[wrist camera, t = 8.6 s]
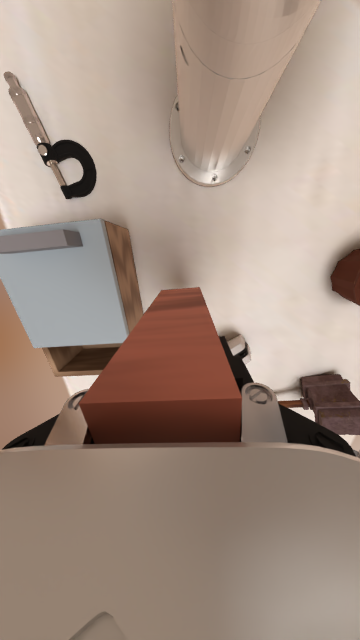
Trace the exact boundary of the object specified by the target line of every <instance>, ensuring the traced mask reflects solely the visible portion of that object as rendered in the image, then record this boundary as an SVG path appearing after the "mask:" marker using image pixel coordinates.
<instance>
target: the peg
mask: <svg viewBox="0 0 360 640" xmlns="http://www.w3.org/2000/svg"><path fill="white" fill-rule="evenodd" d="M79 406H80V408H81V411H82V413H83V416H84V418H85V421H86V423H87V426H88V428H89V431H90V433H91V436H92V438H93V441H94V443H95V444H128V443H202V442H240V425H241V409H242V396H241V394H240V391H239V389H238V386H237V383H236V381H235V378H234V376H233V373H232V370H231V368H230V365H229V363H228V360H227V357H226V355H225V352H224V350H223V347H222V344H221V342H220V339H219V336H218V334H217V331H216V329H215V326H214V323H213V321H212V318H211V316H210V313H209V310H208V308H207V305H206V303H205V300H204V297H203V295H202V292H201V290H200V287H197V288H184V289H171V290H161V292H160V293H159V294H158V296H157V297H156V298H155V300H154V301H153V303H152V304H151V305H150V307H149V308H148V309H147V311H146V312H145V313H144V315H143V316H142V318H141V319H140V320H139V322H138V323H137V324H136V326H135V327H134V329H133V330H132V331H131V333H130V334H129V335H128V337H127V338H126V339H125V341H124V342H123V344H122V345H121V346H120V348H119V349H118V350H117V352H116V353H115V354H114V356H113V357H112V359H111V360H110V361H109V363H108V364H107V365H106V367H105V368H104V369H103V371H102V372H101V374H100V375H99V376H98V378H97V379H96V380H95V382H94V383H93V385H92V386H91V387H90V389H89V390H88V391H87V393H86V394H85V395H84V397H83V398H82V400H81V401H80V402H79Z"/></svg>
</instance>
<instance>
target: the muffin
mask: <svg viewBox="0 0 360 640" xmlns="http://www.w3.org/2000/svg"><path fill="white" fill-rule="evenodd" d="M330 278H331V281H332V290H333V291H335V292H337V293H339V294H340V295H341V296H342V297H344V298H346V299H348V300H350V301H352V302H354V303H355V304H357V305H359V306H360V249H358V250H354V251H352V252H351V253H350V254H349V255H348V256H346V257H345V258H343V259H342V260H340V261H338V263H337V266H336V268H335V270H334V272H333V273H332V275H331V277H330Z"/></svg>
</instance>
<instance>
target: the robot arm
mask: <svg viewBox="0 0 360 640" xmlns="http://www.w3.org/2000/svg"><path fill="white" fill-rule="evenodd" d="M172 2H173V19H174V36H175V53H176V70H177V87H178V94H177V96H176V98H175V100H174V103H173V107H172V111H171V116H170V124H169V133H170V143H171V148H172V153H173V156H174V158H175V161H176V163H177V165H178V167H179V168H180V170H181V172H182V173H183V174H184V175H185V176H186V177H187V178H188V179H190V180H191V181H192V182H194V183H196V184H199V185H202V186H207V187H210V186H218V185H221V184H224V183H226V182H228V181H230V180H231V179H232V178H234V177H235V176H236V175H237V174H238V173H239V172H240V171H241V170H242V169H243V167H244V166H245V164H246V163H247V162H248V160H249V158H250V156H251V155H252V153H253V151H254V148H255V145H256V142H257V139H258V134H259V129H260V115H261V113H262V111H263V109H264V108H265V106H266V104H267V102H268V100H269V98H270V96H271V94H272V93H273V91H274V89H275V87H276V85H277V83H278V81H279V79H280V78H281V76H282V74H283V72H284V70H285V68H286V66H287V64H288V63H289V61H290V59H291V57H292V55H293V53H294V51H295V50H296V48H297V46H298V44H299V42H300V40H301V38H302V36H303V34H304V32H305V30H306V28H307V26H308V24H309V23H310V21H311V19H312V17H313V15H314V13H315V12H316V10H317V8H318V6H319V4H320V2H321V0H172ZM178 110H179V111H178ZM245 151H246V152H247V154H246V153H245ZM181 160H183V161H184V162H182V163H181V162H180V161H181ZM213 178H214V179H215V181H212V179H213ZM219 339H220V342H221V344H222V347H223V350H224V352H225V355H226V357H227V360H228V363H229V365H230V368H231V370H232V373H233V376H234V378H235V381H236V383H237V386H238V389H239V391H240V394H241V396H242V409H241V425H240V442H202V443H128V444H95V443H94V441H93V438H92V436H91V433H90V431H89V428H88V426H87V423H86V421H85V418H84V416H83V413H82V411H81V408H80V406H79V402H80V401H81V400H82V398H83V397H84V395H85V394H86V393H87V391H88V390H89V389H85V390H82V391H79V392H77V393H75V394H74V395H72V396H71V397H70V398H69V399H68V400H67V401H66V403H65V404H64V406H63V408H62V410H61V412H60V414H58V415H56V416H55V417H53V418H51V419H49V420H48V421H46V422H44V423H42V424H41V425H38V426H37V427H35V428H33V429H31V430H29V431H28V432H26V433H24V434H22V435H20V436H19V437H17V438H15V439H14V440H13V441H11V442H10V443H9V444H7V445H6V446H5V447H4V448H3V449H2V450H0V640H360V450H359V452H357V451H355V450H353V449H352V448H351V446H350V445H349V444H348V443H347V442H346V441H345V440H344V439H343V438H342V437H340V436H339V435H338V434H336V433H334V432H333V431H331V430H329V429H327V428H325V427H323V426H321V425H319V424H318V423H316V422H314V421H312V420H310V419H308V418H306V417H304V416H302V415H300V414H298V413H296V412H294V411H292V410H291V409H289V408H287V407H285V406H283V405H281V404H279V403H278V401H277V397H276V395H275V393H274V392H273V390H272V389H270V388H269V387H268V386H266V385H263V384H260V383H254V382H253V380H252V378H251V376H250V374H249V372H248V370H247V368H246V366H245V364H244V362H243V360H242V358H241V357H240V355H233V354H232V352H231V350H230V347H229V345H228V343H227V341H226V339H225V337H224V336H221V337H219Z"/></svg>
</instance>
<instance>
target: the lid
mask: <svg viewBox="0 0 360 640" xmlns="http://www.w3.org/2000/svg"><path fill="white" fill-rule="evenodd" d="M0 278H1V280H2V282H3V284H4V286H5V289H6V291H7V293H8V295H9V297H10V299H11V301H12V303H13V305H14V307H15V310H16V311H17V314H18V316H19V318H20V320H21V322H22V324H23V326H24V328H25V331H26V333H27V335H28V337H29V339H30V341H31V343H32V345H33V347H34V348H42V347H60V346H77V345H95V344H112V343H123V342H124V341H125V339H126V338H127V337H128V335H129V330H128V326H127V321H126V317H125V312H124V308H123V303H122V299H121V294H120V290H119V285H118V281H117V276H116V272H115V267H114V263H113V258H112V254H111V249H110V245H109V240H108V236H107V231H106V227H105V222H104V220H102V219H93V220H84V221H75V222H66V223H57V224H48V225H39V226H30V227H21V228H12V229H3V230H0Z"/></svg>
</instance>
